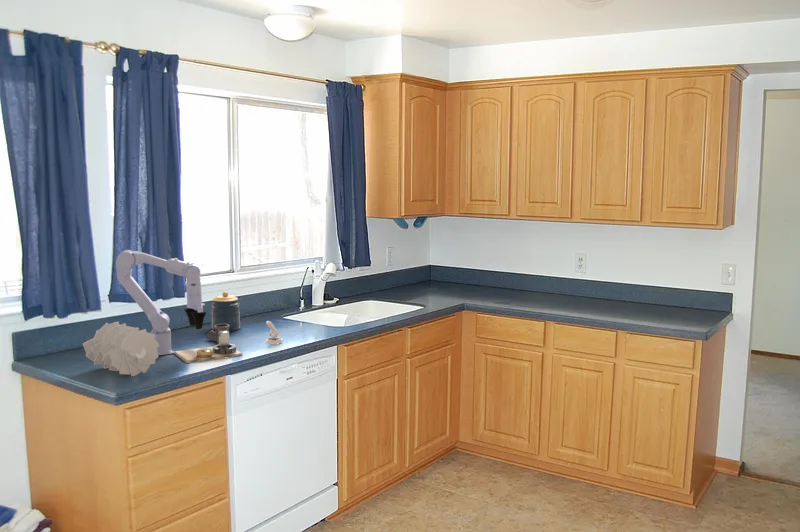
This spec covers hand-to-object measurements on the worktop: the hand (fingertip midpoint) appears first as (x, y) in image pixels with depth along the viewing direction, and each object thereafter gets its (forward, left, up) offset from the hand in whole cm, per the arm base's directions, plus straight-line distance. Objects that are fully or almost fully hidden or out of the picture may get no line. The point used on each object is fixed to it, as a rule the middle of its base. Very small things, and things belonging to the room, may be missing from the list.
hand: (196, 327), depth 282 cm
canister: (+24, +33, -10) cm, 42 cm away
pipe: (+13, +10, -10) cm, 19 cm away
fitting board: (+2, -8, -10) cm, 13 cm away
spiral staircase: (-32, -15, -10) cm, 36 cm away
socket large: (+8, -10, -10) cm, 16 cm away
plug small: (-1, -12, -10) cm, 16 cm away
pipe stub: (+8, -10, -9) cm, 15 cm away
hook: (+33, -2, -10) cm, 35 cm away
